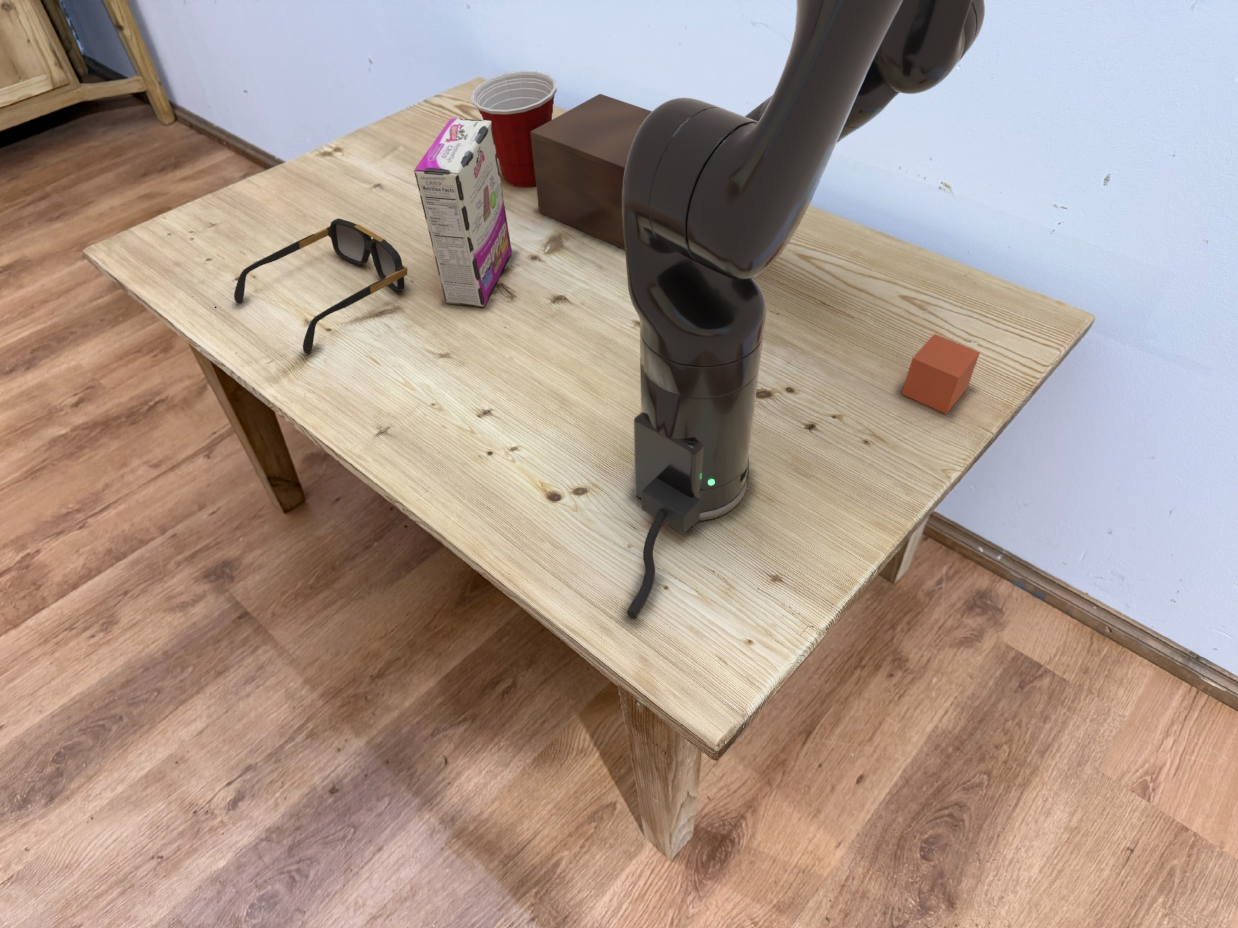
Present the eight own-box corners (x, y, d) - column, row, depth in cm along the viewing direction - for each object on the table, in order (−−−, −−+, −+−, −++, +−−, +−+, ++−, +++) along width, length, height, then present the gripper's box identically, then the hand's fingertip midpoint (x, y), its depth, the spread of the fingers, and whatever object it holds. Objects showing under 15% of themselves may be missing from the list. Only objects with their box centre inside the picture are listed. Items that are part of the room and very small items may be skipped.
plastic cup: (477, 165, 116) (462, 76, 107) (553, 151, 118) (545, 63, 109) (492, 204, 109) (478, 112, 100) (574, 189, 111) (567, 98, 102)
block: (946, 414, 81) (959, 378, 77) (901, 394, 83) (912, 358, 79) (966, 388, 83) (980, 352, 80) (923, 369, 85) (934, 333, 82)
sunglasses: (236, 304, 96) (220, 266, 92) (348, 246, 103) (336, 209, 100) (306, 356, 89) (291, 317, 86) (420, 290, 97) (411, 252, 93)
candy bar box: (473, 249, 102) (449, 116, 90) (513, 253, 101) (494, 119, 89) (441, 305, 95) (411, 167, 83) (484, 309, 94) (459, 171, 82)
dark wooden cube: (691, 206, 107) (694, 125, 99) (628, 251, 101) (626, 168, 93) (603, 172, 114) (599, 93, 106) (539, 212, 107) (530, 131, 100)
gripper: (809, 71, 87) (708, 148, 101) (729, 123, 80) (632, 199, 94) (846, 135, 89) (741, 203, 103) (771, 192, 81) (669, 256, 95)
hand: (690, 200), depth 98 cm, fingers closed on drawer, 5 cm apart
